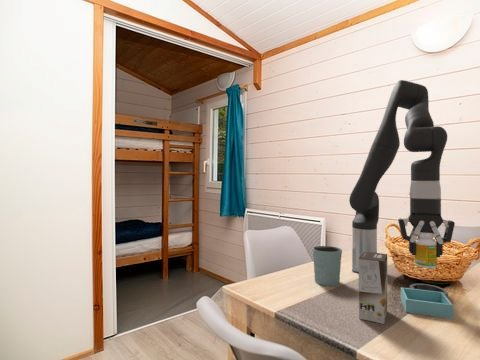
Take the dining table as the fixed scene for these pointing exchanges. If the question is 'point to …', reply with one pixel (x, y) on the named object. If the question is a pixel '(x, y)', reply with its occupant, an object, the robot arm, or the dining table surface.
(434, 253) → the supplement bottle
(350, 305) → the dining table surface
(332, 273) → the teal cup
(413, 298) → the tray
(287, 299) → the dining table surface
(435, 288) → the holder
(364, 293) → the coffee box
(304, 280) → the dining table surface
